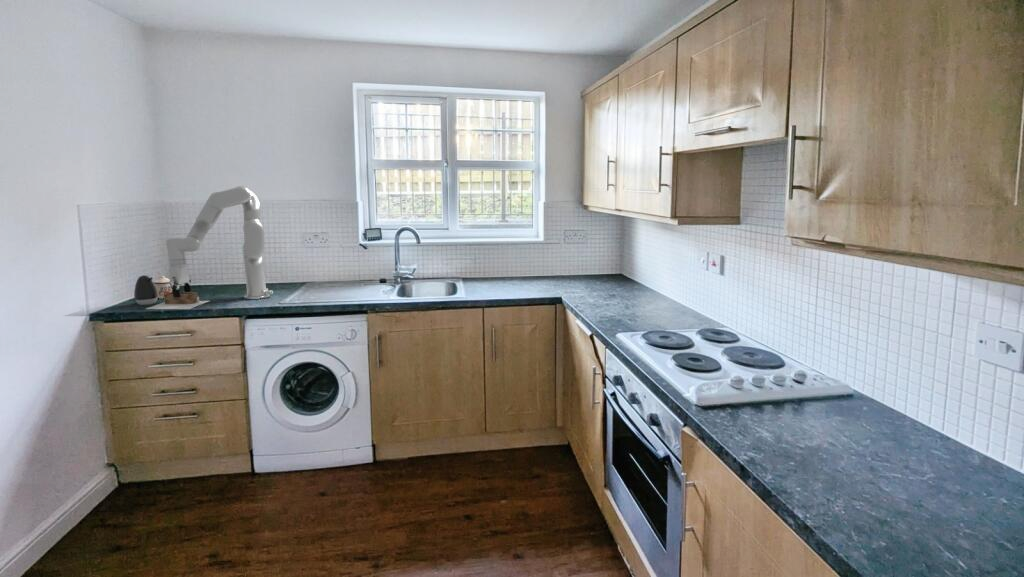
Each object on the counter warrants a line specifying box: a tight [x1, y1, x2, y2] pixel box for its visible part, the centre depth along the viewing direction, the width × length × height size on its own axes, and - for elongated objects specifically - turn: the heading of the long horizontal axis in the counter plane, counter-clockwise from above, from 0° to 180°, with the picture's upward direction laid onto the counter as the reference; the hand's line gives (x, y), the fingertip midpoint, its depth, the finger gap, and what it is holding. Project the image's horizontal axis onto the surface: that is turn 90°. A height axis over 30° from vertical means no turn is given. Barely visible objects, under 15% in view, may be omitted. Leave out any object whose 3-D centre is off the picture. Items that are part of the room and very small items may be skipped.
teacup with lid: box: [153, 275, 180, 300], centre depth 303 cm, size 12×9×12 cm
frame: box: [163, 291, 199, 304], centre depth 286 cm, size 14×6×5 cm, turn 90°
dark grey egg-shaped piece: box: [133, 274, 158, 306], centre depth 284 cm, size 10×10×15 cm
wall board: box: [145, 296, 210, 310], centre depth 282 cm, size 22×19×4 cm
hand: (182, 295), depth 286 cm, fingers open, 9 cm apart
